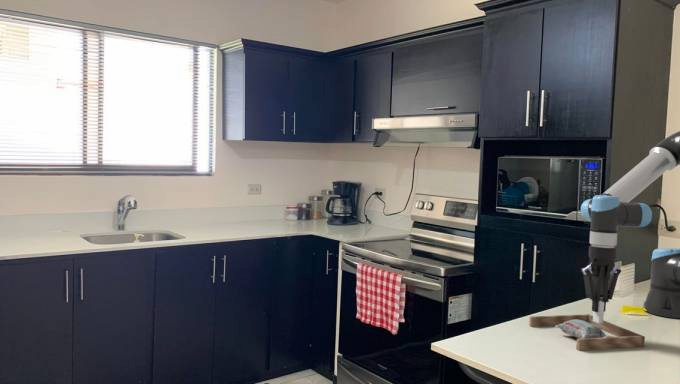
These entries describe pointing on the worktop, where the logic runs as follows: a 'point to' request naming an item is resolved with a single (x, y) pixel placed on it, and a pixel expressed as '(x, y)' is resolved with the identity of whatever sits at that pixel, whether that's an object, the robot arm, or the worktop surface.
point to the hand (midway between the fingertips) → (597, 322)
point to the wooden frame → (621, 341)
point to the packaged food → (581, 329)
